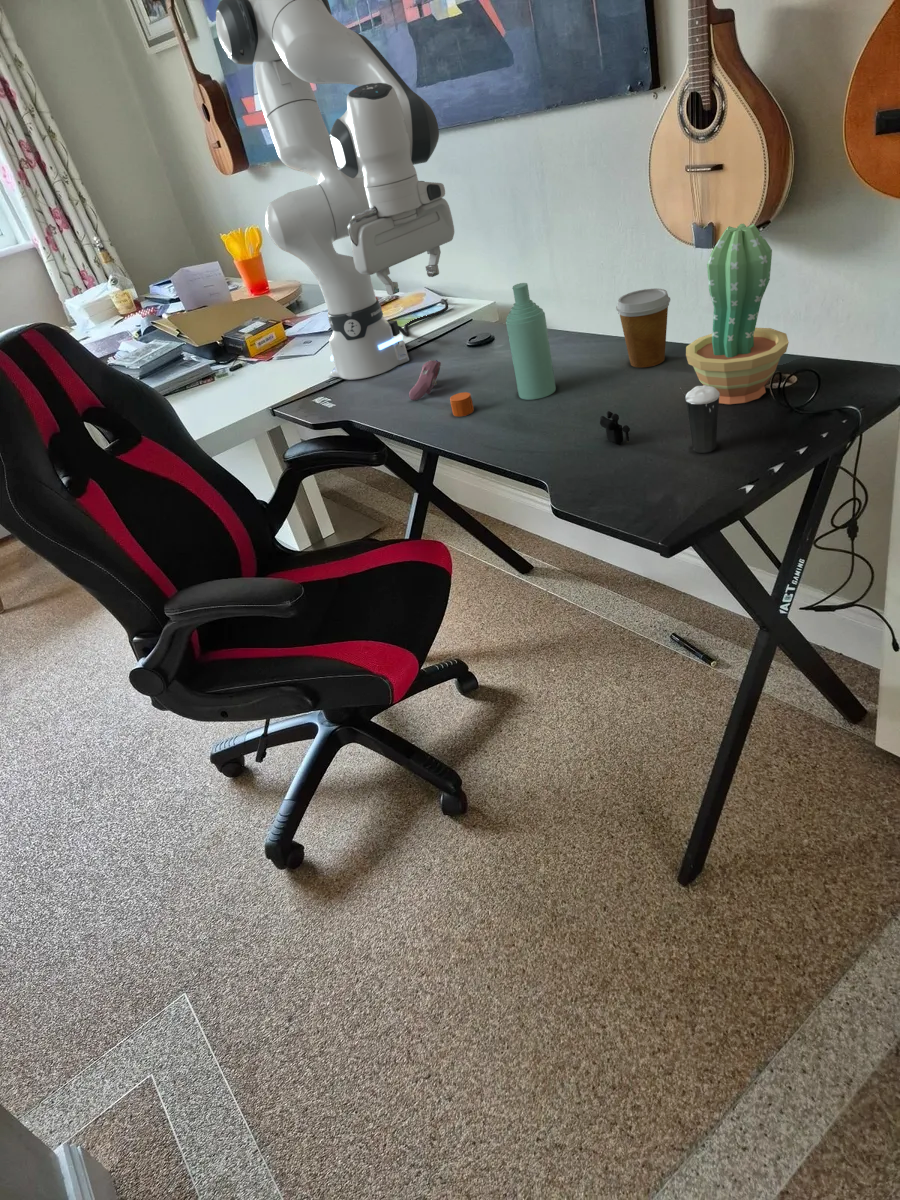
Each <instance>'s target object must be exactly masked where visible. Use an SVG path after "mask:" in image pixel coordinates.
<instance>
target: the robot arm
mask: <svg viewBox="0 0 900 1200" xmlns="http://www.w3.org/2000/svg"><path fill="white" fill-rule="evenodd" d="M215 29H216V34H217V37H218V40H219V43H220V45H221V47H222V49H223V50H224V53H225V55H226V56H227V57H228V58H229V59H230V61H232V62H233V63H234V64H237V65H244V66H245V65H246V66H247V65H248V66H249V65H250V66H251V65H253V64H254V63H255V65H254V78H255V85H256V89H257V94H258V95H257V96H258V98H259V103H260V106H261V110H262V113H263V116H264V119H265V122H266V125H267V129H268V131H269V134H270V137H271V140H272V142H273V145H274V147H275V151H276V154H277V156H278V158H279V160H280V161H281V162H282V164H283V165H285V166H286V167H287V168H289V169H290V170H293V171H297V172H301V173H306V174H307V175H309V176H311V177H312V178H313V179H315V182H317V184H313V185H310V186H306V187H303V188H299V189H295V190H293V191H292V190H291V191H289V192H287V193H284V194H283V195H281V196H279V197H277V198H276V199H274V200H272V201H270V202H269V203H268V205H267V207H266V210H265V215H264V216H265V217H264V222H265V228H266V231H267V234H268V236H269V238H270V239H271V241H272V243H273V244H274V245H275V246H277V248H279V249H280V250H282V251H283V252H285V253H289V254H290V255H293V256H294V257H296V258H297V259H299V260H300V261H301V262H303V263H304V264H305V265H306V266H307V267H308V268H309V270H310V271H311V272H312V273H313V276H314V277H315V279H316V281H317V283H318V285H319V288H320V290H321V294H322V296H323V299H324V302H325V305H326V308H327V314H326V315H327V318H328V319H327V321H328V323H329V326H330V329H331V330H332V334H331V336H329V337H330V338H329V339H328V343H329V348H330V352H331V355H330V362H333V365H334V368H333V369H331V370H330V376H331V377H332V378H340V379H343V380H351V381H352V380H362V379H366V378H367V379H368V378H371V377H375V376H377V375H380V374H384V373H386V372H388V371H390V370H392V369H394V368H396V367H398V366H399V365H402V364H405V363H407V362H409V361H410V356H409V353H408V351H407V347H406V344H405V341H404V340H403V336H405V337H408V336H409V330H408V327H409V326H411V325H413V324H415V323H417V322H421V321H424V320H426V319H429V318H433V317H437V316H439V315H442V314H444V313H445V312H447V311H448V310H449V303H448V301H447V300H446V299H445V298H441V299H440V304H441V305H444V308H442V309H440V310H437V311H434V312H432V313H428V314H425V315H422V316H423V317H421V316H419V317H420V318H418V317H416V318H417V319H415V318H413V319H414V320H413V319H411V320H412V321H411V320H409V321H410V322H409V321H408V322H409V323H407V322H406V323H407V324H406V323H405V324H404V325H403V326H400V325H399V324H398V320H387V319H386V318H385V317H384V312H383V310H382V309H383V308H382V305H381V304H380V301H379V298H378V296H376V293H375V289H374V285H373V282H372V278H371V275H374V274H376V277H377V278H378V279H379V280H380V281H381V283H382V284H383V285H384V287H385V291H386V294H387V295H388V296H393V295H395V294H398V293H399V292H400V288H399V283H398V281H393V280H392V279H391V278H390V276H389V275H390V274H391V271H390V268H391V267H394V266H395V265H399V264H400V263H402V262H405V261H407V260H410V259H412V258H414V257H417V256H419V255H421V254H424V253H426V254H427V255H429V258H428V265H425V271H426V275H427V277H429V278H434V277H436V276H438V275H439V274H440V269H439V262H440V257H441V247H440V246H443V245H445V244H447V243H450V242H452V241H453V240H454V235H455V225H454V220H453V215H452V212H451V207H450V205H449V203H448V201H447V200H446V198H444V197H445V196H446V188H445V185H444V183H442V182H433V181H432V182H431V181H424V180H419V178H418V174H417V170H416V168H415V165H418V164H425V163H428V161H429V160H430V159H431V157H432V155H433V154H434V151H435V150H436V148H437V144H438V142H439V138H440V129H439V124H438V120H437V116H436V115H435V113H434V110H433V108H432V107H431V106H430V105H429V103H427V102H426V100H424V98H423V97H421V96H420V95H419V94H417V93H416V92H414V91H413V90H412V89H411V87H410V86H408V84H407V83H406V81H405V80H404V79H403V78H402V77H401V76H400V74H399V73H398V72H397V71H396V70H395V68H393V66H392V64H390V63H389V62H388V60H387V59H386V58H385V57H384V56H383V54H382V52H380V51H379V50H378V48H377V47H376V46H375V45H374V44H373V43H372V41H370V39H368V38H367V37H366V36H365V35H363V34H360V33H359V32H356V31H354V30H352V29H351V28H349V27H347V26H346V25H344V24H342V22H340V21H339V20H337V19H336V18H335V17H334V16H333V15H332V9H331V5H330V2H329V0H220V1H219V3H218V4H217V7H216V9H215ZM311 84H313V85H330V84H331V85H332V84H333V85H335V84H336V85H337V84H338V85H339V84H340V85H352V86H357V87H354V88H353V89H352V90H350V91H349V92H348V94H347V96H346V110H345V112H344V113H343V114H342V115H341V116H340V117H339V118H336V120H335V121H334V122H333V125H332V127H331V129H330V132H329V131H328V129H327V126H326V123H325V121H324V118H323V115H322V112H321V109H320V107H319V104H318V101H317V99H316V95H315V93H314V90H313V88H312V85H311ZM348 237H349V239H350V244H351V250H352V251H351V253H352V256H351V255H347V254H341V253H338V252H337V251H336V249H335V247H334V242H336V241H338V240H342V239H345V238H348ZM441 301H442V302H441ZM426 315H427V316H426Z"/></svg>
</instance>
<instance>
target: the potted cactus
mask: <svg viewBox="0 0 900 1200" xmlns="http://www.w3.org/2000/svg"><path fill="white" fill-rule="evenodd" d="M710 252H711V253H710V255H709V258H708V261H707V263H706V268H707V269H706V271H707V282H708V283H707V284H708V292H709V295H710V298H711V302H712V305H713V314H712V315H713V317H712V331H711V332H712V333H709V334H706V335H703V336H700V337H697V339H695V340H693V341H692V342H691V343H689V344H688V345H686V346H685V357H686V360H687V364H688V365H690V366H692V367H693V369H694V372H695V374H696V376H697V379H698V381H699V382H700V384H702V386H703V385H707V386H710V387H714V388H716V389H717V390H718V391H719V393H720V396H719V404H722V405H723V404H724V405H735V404H736V405H738V404H745V403H746V404H747V403H749V402H752V401H755V400H758V399H760V398H761V397H762V396H763V395H765V394H766V393H767V391H766V385H767V383H768V382H769V380H770V379H771V378H772V376H773V375H774V374H775V372H776V371H777V367H778V365H779V362H780V360H781V357H782V356H783V355H784V354H786V353H787V350H788V346H789V343H790V342H789V339H788V334H787V333H786V332H782V331H780V330H777V329H774V328H771V327H756V326H757V322H758V318H759V312H760V309H761V304H762V300H763V298H764V295H765V292H766V290H767V289H768V285H769V283H770V281H771V271H772V269H771V267H772V256H773V249H772V248H771V246H770V245H769V243H768V241H767V240H766V238H765V237H764V235H762V233H761V232H760V230H759V228H757V226H756V224H754V223H752V224H750V225H746V224H745V223H740V224H739V225H738V226H737V227H734V226H730V225H729V226H727V227H726V229H724V231H723V233H722V234H721V236H720V237H719V239H718V240H717V242H716V244H715V246H714V247H713V249H712V251H710Z"/></svg>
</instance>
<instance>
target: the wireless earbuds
mask: <svg viewBox="0 0 900 1200" xmlns="http://www.w3.org/2000/svg"><path fill="white" fill-rule="evenodd" d="M619 420H620V416H619V415H618V414H617V413H613V412H612V411H609V410H607V411H606V414H605V416H604V415H601V416H600V418H599V425H600V426H601V428H604V429H605V434H606V440H607V441H608V442H610V443H612V444H615V445H621V444H623V441H624V433H625V441H626V443H629V442H630V434H629V432H630V431H631V428H630V426H629V425H627V424H625V425H623V424H619Z"/></svg>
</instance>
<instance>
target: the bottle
mask: <svg viewBox="0 0 900 1200" xmlns="http://www.w3.org/2000/svg"><path fill="white" fill-rule="evenodd" d="M511 289H512V292H513V298H514V303H513V306H512V307H511V308H510V310H509V312H508V314H507V315H506V319H505V325H506V331H507V337H508V342H509V348H510V354H511V361H512V364H513V372H514V376H515V383H516V388H517V389H516V390H517V392H518V393H517V394H518V397H519V398H520V399H522V400H527V401H531V400H539V399H543V398H546V397H548V396H549V397H550V396H551V395H552V394H554V393H555V392H556V390H557V389H556V388H557V386H556V380H555V373H554V367H553V360H552V359H553V358H552V353H551V346H550V340H549V339H550V338H549V333H548V326H547V325H548V324H547V318H546V313H545V311H544V309H543V308H542V307H540V305H538V304H537V303H536V302H534V301H533V300H532V299H531V298H530V297H531V296H530V291H529V284H528V283H527V282H520V283H515V284H514V285H513V286H512V288H511Z"/></svg>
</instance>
